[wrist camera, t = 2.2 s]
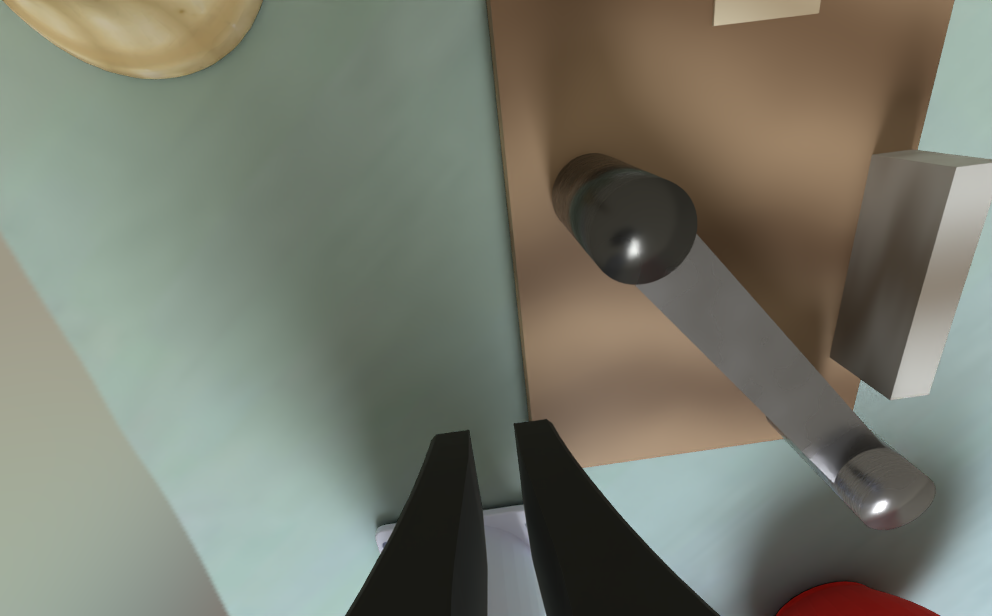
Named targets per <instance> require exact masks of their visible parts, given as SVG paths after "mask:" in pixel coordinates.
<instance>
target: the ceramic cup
mask: <svg viewBox="0 0 992 616" xmlns="http://www.w3.org/2000/svg"><path fill="white" fill-rule="evenodd" d="M776 616H940V615H938V614H936V613H934V612H933V611H931V610H929V609H927V608H925V607H923V606H920V605H918V604H916V603H913V602H911V601H908V600H906V599H903V598H900V597H897V596H894V595H891V594H888V593H885V592H881V591H878V590H874V589H871V588H869V587H867V586H865V585H863V584H860V583H856V582H847V581H844V582H833V583H828V584H823V585H820V586H817V587H814V588H812V589H809V590H807V591H805V592H803V593H801V594H799V595H798V596H796V597H794V598H793V599H792V600H790V601H789V602H788V603H786V604H785V605H784V606H783V607H782V608H781V609H780V610H779V611H778V613H777V614H776Z"/></svg>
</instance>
